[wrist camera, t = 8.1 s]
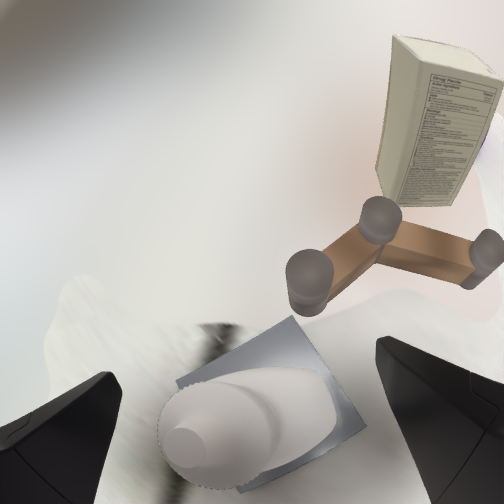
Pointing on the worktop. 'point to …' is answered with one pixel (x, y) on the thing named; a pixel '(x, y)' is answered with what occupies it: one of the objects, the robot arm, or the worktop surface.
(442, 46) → the skincare box
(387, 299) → the worktop surface
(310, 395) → the eye dropper bottle
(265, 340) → the coaster
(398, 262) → the rail
